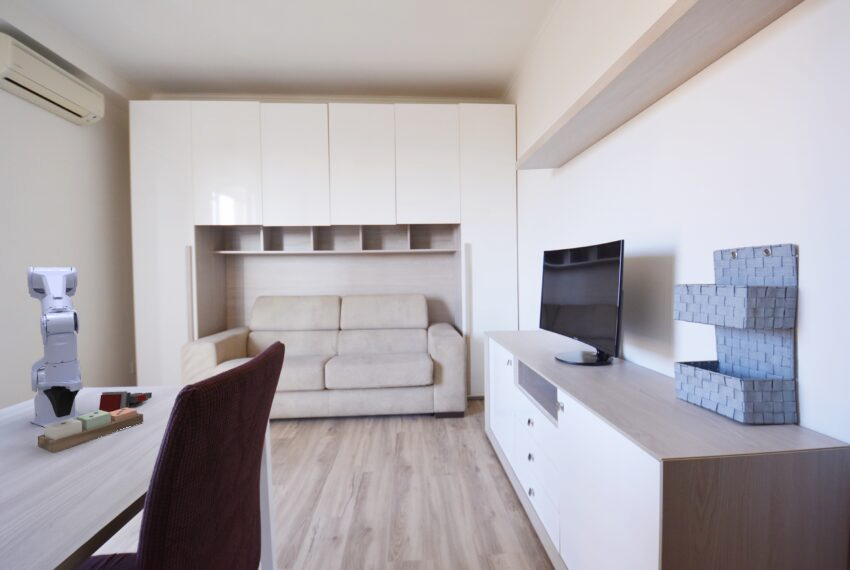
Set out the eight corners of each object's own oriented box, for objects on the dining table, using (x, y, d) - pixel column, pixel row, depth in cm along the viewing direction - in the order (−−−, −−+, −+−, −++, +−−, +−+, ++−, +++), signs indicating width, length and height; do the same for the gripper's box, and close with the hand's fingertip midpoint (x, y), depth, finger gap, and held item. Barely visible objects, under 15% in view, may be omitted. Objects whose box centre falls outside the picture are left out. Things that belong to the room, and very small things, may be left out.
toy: (129, 406, 121) (91, 414, 106) (131, 387, 122) (94, 393, 108) (156, 405, 122) (122, 413, 107) (158, 386, 123) (125, 392, 108)
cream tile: (45, 439, 87) (44, 425, 87) (71, 431, 92) (71, 417, 92) (55, 443, 85) (54, 428, 85) (82, 434, 90) (81, 420, 90)
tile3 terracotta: (105, 425, 98) (104, 413, 98) (126, 419, 103) (126, 407, 103) (115, 428, 96) (115, 416, 96) (136, 421, 101) (136, 409, 101)
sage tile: (76, 429, 93) (76, 416, 93) (100, 422, 98) (100, 409, 97) (87, 433, 91) (86, 419, 91) (111, 425, 95) (110, 412, 95)
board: (37, 446, 87) (37, 436, 87) (126, 418, 104) (126, 410, 104) (54, 452, 84) (53, 442, 84) (143, 422, 101) (142, 414, 101)
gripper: (24, 362, 87) (26, 417, 88) (53, 367, 82) (55, 427, 82) (62, 356, 94) (64, 407, 94) (92, 361, 88) (94, 415, 88)
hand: (63, 415), depth 89 cm, fingers closed
